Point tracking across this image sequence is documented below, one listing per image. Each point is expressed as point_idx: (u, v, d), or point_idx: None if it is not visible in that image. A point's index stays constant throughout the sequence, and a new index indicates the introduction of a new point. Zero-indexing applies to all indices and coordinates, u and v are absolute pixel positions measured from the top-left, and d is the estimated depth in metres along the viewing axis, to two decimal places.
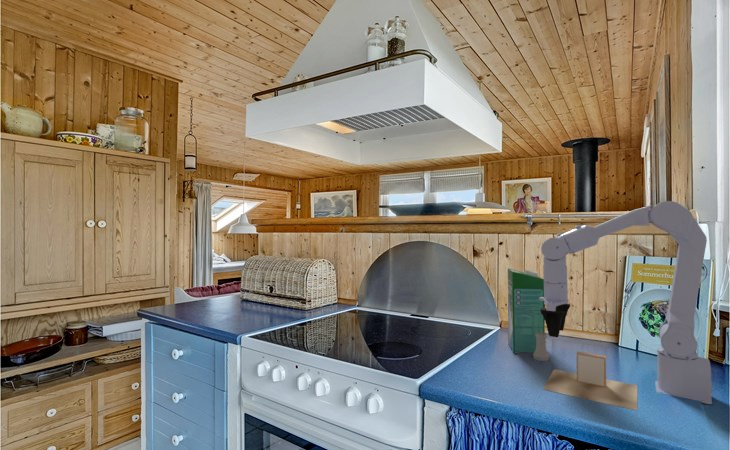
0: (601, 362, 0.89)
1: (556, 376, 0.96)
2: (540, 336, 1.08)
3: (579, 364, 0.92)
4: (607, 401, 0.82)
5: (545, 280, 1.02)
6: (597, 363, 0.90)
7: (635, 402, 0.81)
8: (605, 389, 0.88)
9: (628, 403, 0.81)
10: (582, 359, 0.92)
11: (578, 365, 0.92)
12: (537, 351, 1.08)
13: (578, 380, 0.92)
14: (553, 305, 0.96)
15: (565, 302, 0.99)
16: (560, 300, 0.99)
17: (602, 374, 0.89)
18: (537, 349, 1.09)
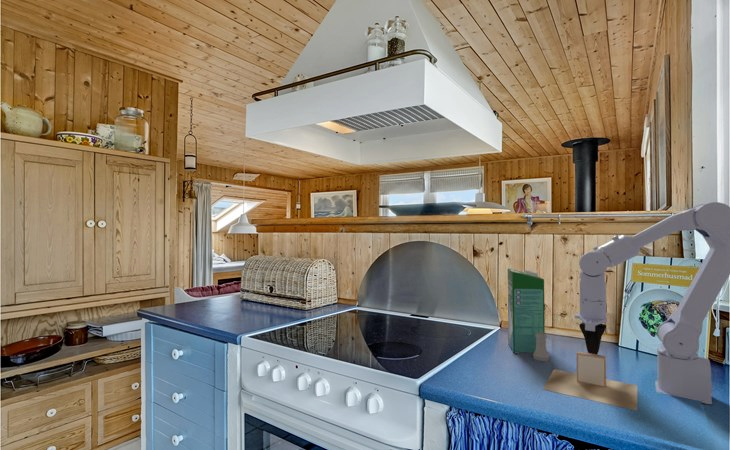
0: (601, 362, 0.89)
1: (556, 376, 0.96)
2: (540, 336, 1.08)
3: (579, 364, 0.92)
4: (607, 401, 0.82)
5: (582, 297, 0.95)
6: (597, 363, 0.90)
7: (635, 402, 0.81)
8: (605, 389, 0.88)
9: (628, 403, 0.81)
10: (582, 359, 0.92)
11: (578, 365, 0.92)
12: (537, 351, 1.08)
13: (578, 380, 0.92)
14: (593, 325, 0.90)
15: (604, 321, 0.93)
16: (599, 319, 0.93)
17: (602, 374, 0.89)
18: (537, 349, 1.09)
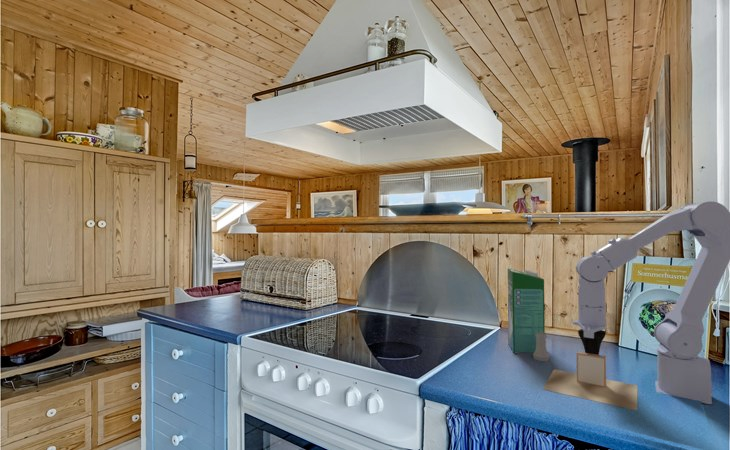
0: (601, 362, 0.89)
1: (556, 376, 0.96)
2: (540, 336, 1.08)
3: (579, 364, 0.92)
4: (607, 401, 0.82)
5: (583, 303, 0.93)
6: (597, 363, 0.90)
7: (635, 402, 0.81)
8: (605, 389, 0.88)
9: (628, 403, 0.81)
10: (582, 359, 0.92)
11: (578, 365, 0.92)
12: (537, 351, 1.08)
13: (578, 380, 0.92)
14: (591, 332, 0.87)
15: (603, 327, 0.91)
16: (598, 325, 0.91)
17: (602, 374, 0.89)
18: (537, 349, 1.09)
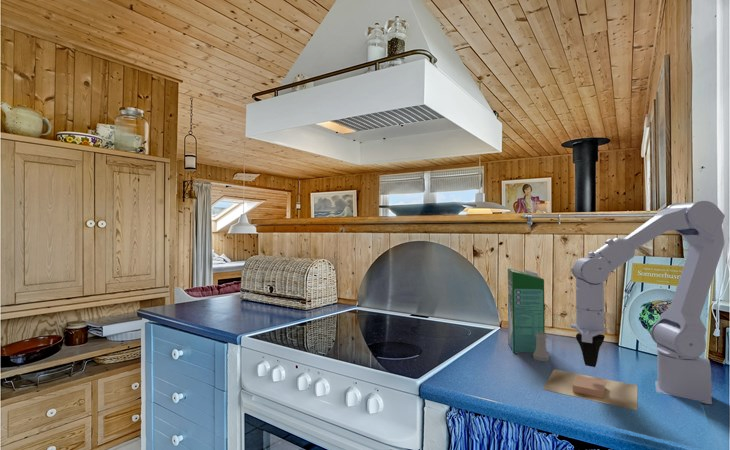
0: None
1: (556, 376, 0.96)
2: (540, 336, 1.08)
3: None
4: (607, 401, 0.82)
5: (583, 307, 0.89)
6: None
7: (635, 402, 0.81)
8: (605, 389, 0.88)
9: (628, 403, 0.81)
10: None
11: None
12: (537, 351, 1.08)
13: None
14: (590, 336, 0.84)
15: (602, 331, 0.87)
16: (596, 329, 0.87)
17: None
18: (537, 349, 1.09)
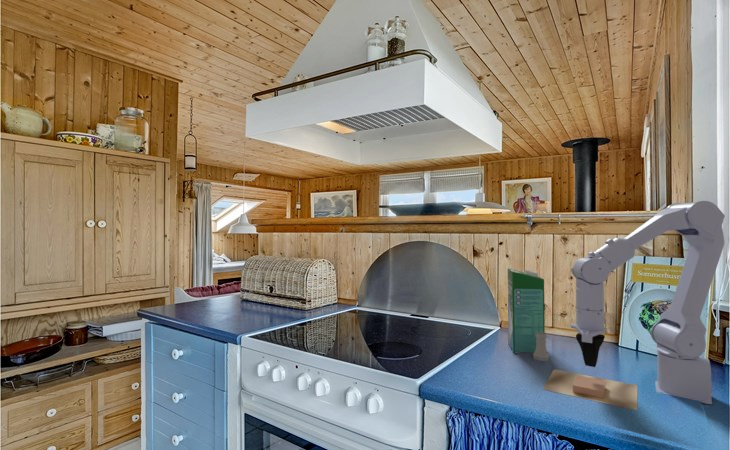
0: None
1: (556, 376, 0.96)
2: (540, 336, 1.08)
3: None
4: (607, 401, 0.82)
5: (583, 307, 0.89)
6: None
7: (635, 402, 0.81)
8: (605, 389, 0.88)
9: (628, 403, 0.81)
10: None
11: None
12: (537, 351, 1.08)
13: None
14: (590, 336, 0.84)
15: (602, 332, 0.87)
16: (596, 329, 0.87)
17: None
18: (537, 349, 1.09)
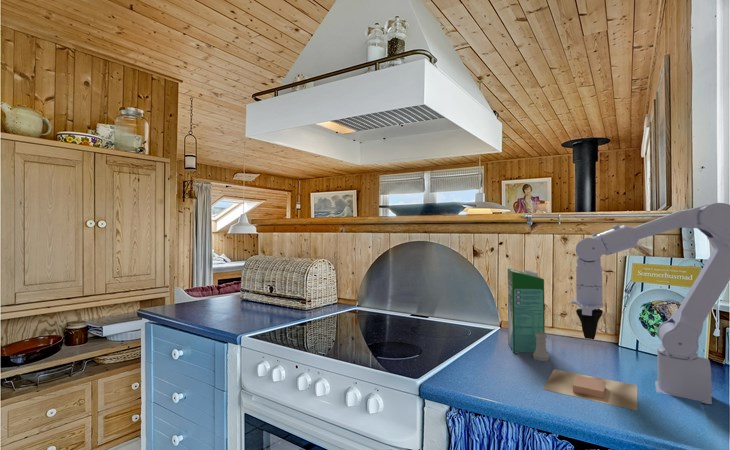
0: None
1: (556, 376, 0.96)
2: (540, 336, 1.08)
3: None
4: (607, 401, 0.82)
5: (579, 282, 0.96)
6: None
7: (635, 402, 0.81)
8: (605, 389, 0.88)
9: (628, 403, 0.81)
10: None
11: None
12: (537, 351, 1.08)
13: None
14: (589, 309, 0.90)
15: (600, 306, 0.94)
16: (595, 304, 0.94)
17: None
18: (537, 349, 1.09)
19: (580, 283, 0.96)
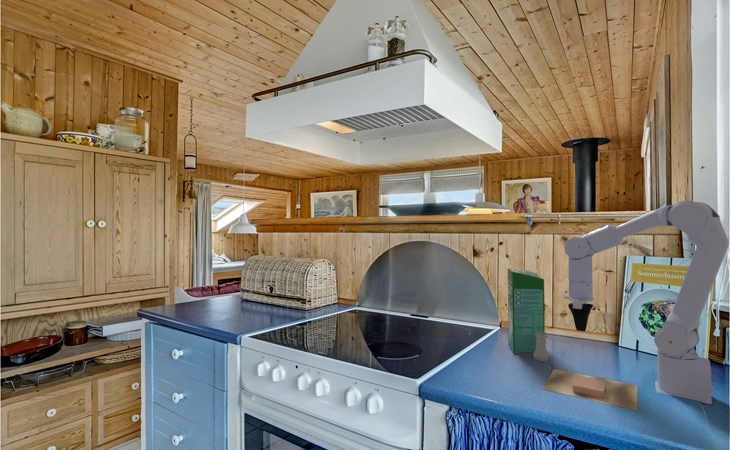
0: None
1: (556, 376, 0.96)
2: (540, 336, 1.08)
3: None
4: (607, 401, 0.82)
5: (569, 278, 1.05)
6: None
7: (635, 402, 0.81)
8: (605, 389, 0.88)
9: (628, 403, 0.81)
10: None
11: None
12: (537, 351, 1.08)
13: None
14: (580, 303, 0.98)
15: (590, 300, 1.01)
16: (586, 298, 1.01)
17: None
18: (537, 349, 1.09)
19: (569, 279, 1.04)
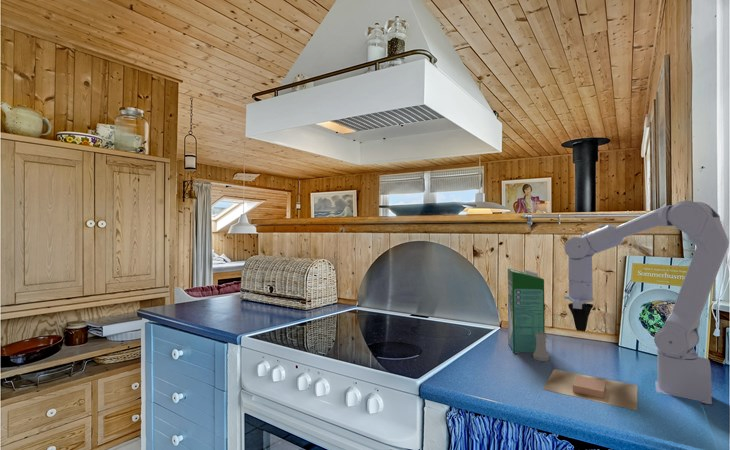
0: None
1: (556, 376, 0.96)
2: (540, 336, 1.08)
3: None
4: (607, 401, 0.82)
5: (569, 278, 1.05)
6: None
7: (635, 402, 0.81)
8: (605, 389, 0.88)
9: (628, 403, 0.81)
10: None
11: None
12: (537, 351, 1.08)
13: None
14: (580, 303, 0.98)
15: (590, 300, 1.01)
16: (586, 298, 1.01)
17: None
18: (537, 349, 1.09)
19: (569, 279, 1.04)
